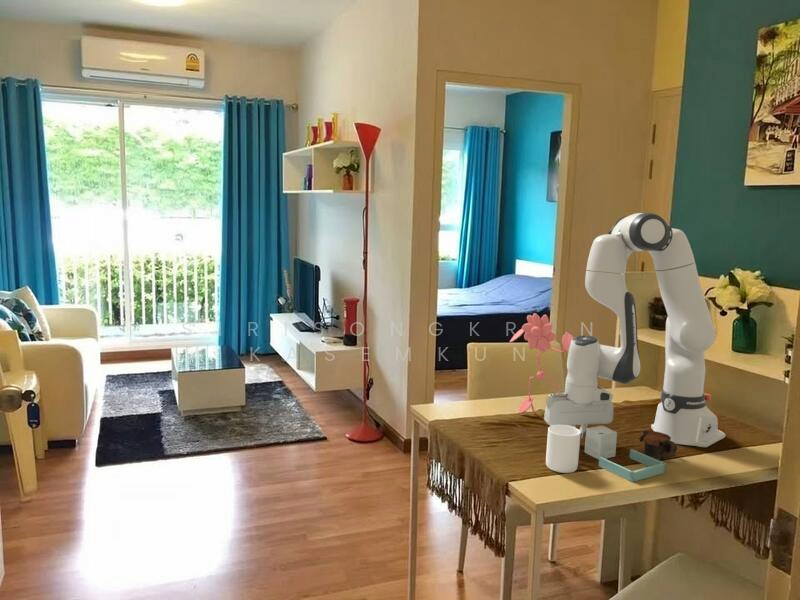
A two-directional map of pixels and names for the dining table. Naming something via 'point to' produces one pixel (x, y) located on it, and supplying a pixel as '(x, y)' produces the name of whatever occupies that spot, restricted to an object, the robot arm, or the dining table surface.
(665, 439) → the pottery mug
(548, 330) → the pink flower stem
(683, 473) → the dining table surface
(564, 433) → the mug
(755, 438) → the dining table surface
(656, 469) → the u-shaped bracket
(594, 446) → the skincare box
